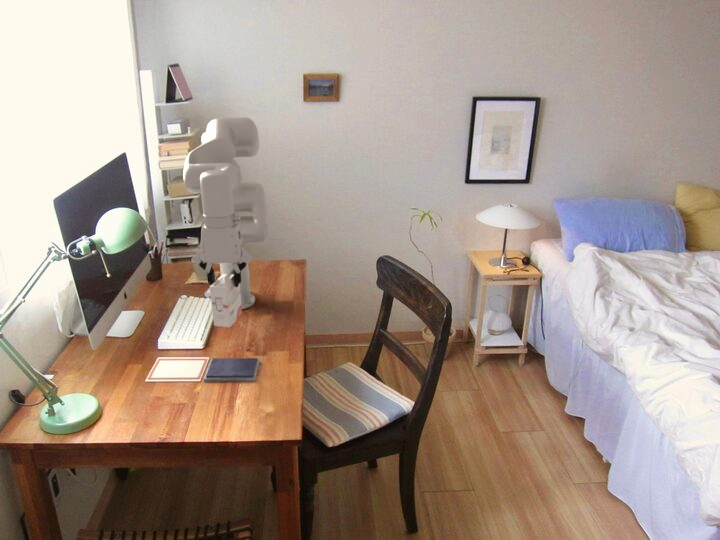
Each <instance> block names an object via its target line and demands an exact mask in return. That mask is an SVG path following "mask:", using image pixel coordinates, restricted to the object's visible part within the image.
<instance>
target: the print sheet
mask: <svg viewBox="0 0 720 540" xmlns="http://www.w3.org/2000/svg"><path fill="white" fill-rule="evenodd" d="M209 360H210V357H209V356H208V357H201V356H200V357H199V356H198V357H197V356H195V357H194V356H193V357H191V356H190V357H186V356H184V357H180V356H179V357H173V356H172V357H170V356H169V357H167V356H166V357H164V356H163V357H157V359H156V361H155V363H154V364H153V366H152V368H151V370H150V371H149V373H148V375H147V377H146V379H144V380H145V381H144V382H145V383H148V382H149V383H157V382H158V383H167V382H168V383H169V382H170V383H172V382H173V383H175V382H177V383H179V382H180V383H182V382H184V383H186V382H189V383H190V382H193V383H194V382H195V383H197V382H201V381H202V379H203V375H204V374H205V371H206V368H207V367H208V366H207V365H208V364H209Z"/></svg>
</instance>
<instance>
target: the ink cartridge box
mask: <svg viewBox="0 0 720 540" xmlns="http://www.w3.org/2000/svg"><path fill="white" fill-rule="evenodd" d="M234 272H235V269H232V270H231V271H230V272H229V273H228V274H222V275H221V274H220V276H219V277H218V278H217V279H215V282H214V283H213V284H212V285H211V286H210V285H209V294H210V295H209V296H210V300H211V301H210V302H211V311H212V317H213V318H212V320H213V326H214V327H222V328H223V327H224V328H231V327H232V326H233V325H234V324H235V322H236V321H237V319H239V317H240V316H241V315H242V314H243V309H242V305H241V292H240V283H239V285H238V287H235V282H234V275H231V274H234Z"/></svg>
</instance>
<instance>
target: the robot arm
mask: <svg viewBox="0 0 720 540" xmlns="http://www.w3.org/2000/svg"><path fill="white" fill-rule="evenodd" d="M200 139H201V144H200V145H199V146H197V147H196V148H194V149H192V150H191V151H190V152H189V153H188V154H187V156H186V158H185V161H184V166H183V172H182V173H183V174H182V177H183V178H182V179H183V185H184V188H185V189H186V190H187V192H189V193H191V194H200V197H201V205H202V217H203V223H202V225H201V231H200V235H201V236H200V250H198V252H197V253H196V254H195V255H194V256H193V257H192V261H193V263H195V264H196V265H198V266H199V267H200V268H201V270H203V271H205V273H206V278H207V283H208V284H209V287H210V286H211V285H212V284H213V283H214V282H215V281H216V276H215V269H214V267H213V265H214V264H219V269H220V271H219V273H220V276H221V275H222V274H228V273H229V272H230V271H231V270H232V269H235V272H234V274H231V275H234V282H235V287H238V285H239V283H240V292H241V305H242V310H245V309H248V308H250V307H253V305H255V303H256V297H255V295H254V294H252V293H251V284H250V282H251V281H250V272H249V270H250V269H249V264H250V263H251V262H252V261H253V256H252V255H251V254H250V253H249V252H248V251H246V250H245V249H244V247H243V245H253V244H254V245H255V244H262V243H263V244H264V243H265V242H266V241H267V239H268V216H267V200H266V192H265V189H264V187H263V185H262V184H260V183H258V182H243V181H242V173H241V172H242V171H241V170H242V169H241V166H240V165H239V163H238V162H237V161H236V159H235V158H253V157H255V156H257V154H258V153H259V149H260V140H259V131H258V128H257V125H256V123H255V121H254V120H253V119H251V118H250V117H245V116H243V117H239V116H238V117H234V116H233V117H229V116H228V117H216V118H213V119H211V120H210V121H209V122H208V124H207V125H206V130H205V132H203V133H202V134H201V138H200ZM243 212H244V213H247V212H248V213H252V215H238V214H236V213H243Z"/></svg>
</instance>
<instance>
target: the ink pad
mask: <svg viewBox="0 0 720 540" xmlns="http://www.w3.org/2000/svg"><path fill="white" fill-rule="evenodd" d="M260 362H261V358H257V357H256V358H255V357H254V358H253V357H251V358H250V357H248V358H247V357H243V358H242V357H238V358H237V357H235V358H234V357H228V358H227V357H226V358H225V357H223V358H222V357H221V358H218V357H217V358H216V357H215V358H211V359H210V362H208V366H207V367H206V368H207V369H206V370H205V371H206V372H205V373H204V377H203V382H207V383H208V382H216V383H217V382H256V379H257V375H258V372H259V368H260V367H259V366H260Z"/></svg>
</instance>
